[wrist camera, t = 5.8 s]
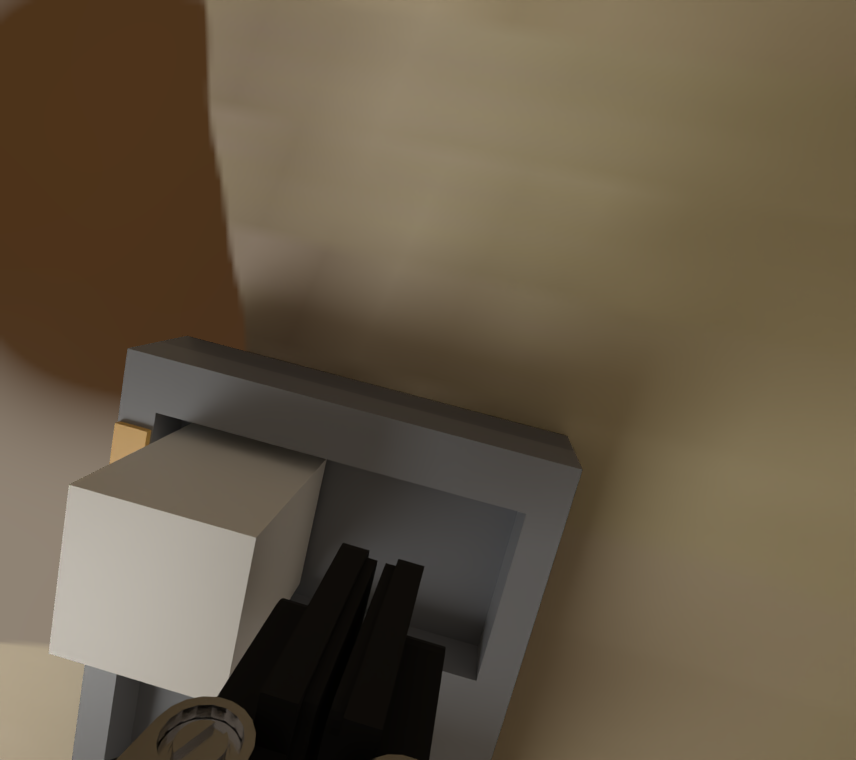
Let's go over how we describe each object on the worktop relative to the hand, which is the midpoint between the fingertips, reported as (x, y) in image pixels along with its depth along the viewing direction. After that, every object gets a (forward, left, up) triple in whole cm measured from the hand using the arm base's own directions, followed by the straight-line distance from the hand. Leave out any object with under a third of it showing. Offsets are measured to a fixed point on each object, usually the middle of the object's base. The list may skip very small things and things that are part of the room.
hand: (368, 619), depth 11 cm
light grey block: (+1, -5, -5) cm, 7 cm away
